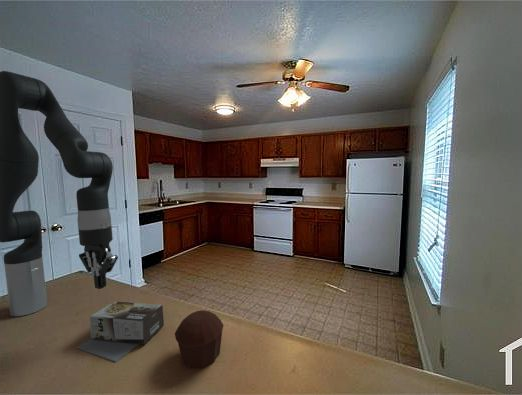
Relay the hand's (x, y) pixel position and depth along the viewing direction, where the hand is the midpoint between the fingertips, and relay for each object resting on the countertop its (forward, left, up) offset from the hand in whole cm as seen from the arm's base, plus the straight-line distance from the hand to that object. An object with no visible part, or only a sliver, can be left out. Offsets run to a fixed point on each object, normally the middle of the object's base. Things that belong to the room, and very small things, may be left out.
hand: (100, 287), depth 69 cm
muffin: (+31, +2, -13) cm, 34 cm away
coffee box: (-1, +1, -10) cm, 10 cm away
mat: (+7, 0, -13) cm, 15 cm away
